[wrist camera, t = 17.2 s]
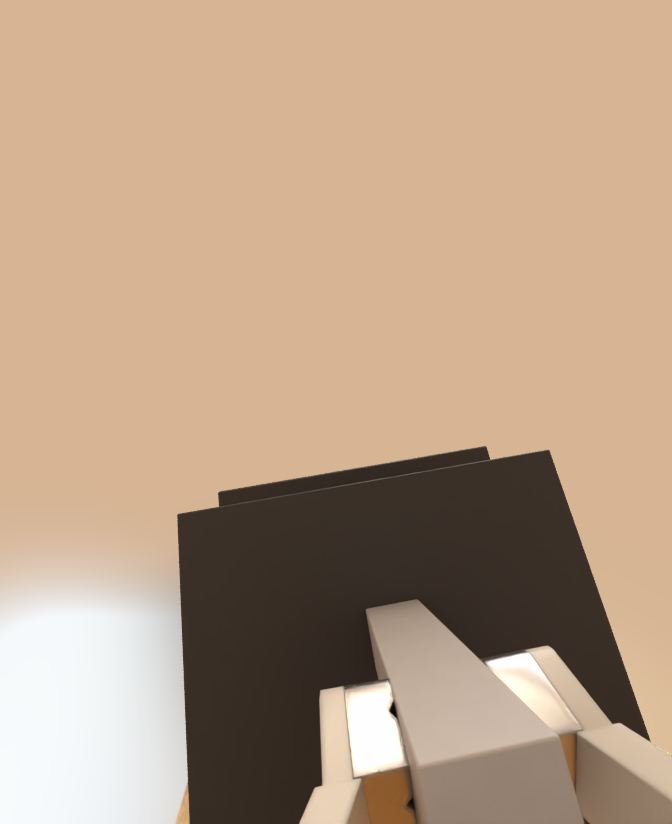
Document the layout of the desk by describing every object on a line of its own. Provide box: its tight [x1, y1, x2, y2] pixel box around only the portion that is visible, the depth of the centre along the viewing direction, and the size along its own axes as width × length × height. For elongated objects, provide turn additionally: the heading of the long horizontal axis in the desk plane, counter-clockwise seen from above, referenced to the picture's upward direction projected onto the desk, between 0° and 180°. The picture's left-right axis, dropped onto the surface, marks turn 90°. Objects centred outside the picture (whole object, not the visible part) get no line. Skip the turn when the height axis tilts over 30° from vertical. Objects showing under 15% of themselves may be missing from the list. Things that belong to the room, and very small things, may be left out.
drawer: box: [177, 450, 651, 824], centre depth 14 cm, size 21×16×11 cm
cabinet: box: [218, 446, 590, 824], centre depth 22 cm, size 12×16×33 cm
